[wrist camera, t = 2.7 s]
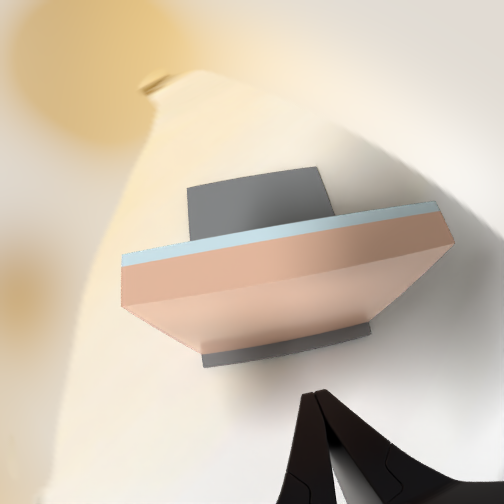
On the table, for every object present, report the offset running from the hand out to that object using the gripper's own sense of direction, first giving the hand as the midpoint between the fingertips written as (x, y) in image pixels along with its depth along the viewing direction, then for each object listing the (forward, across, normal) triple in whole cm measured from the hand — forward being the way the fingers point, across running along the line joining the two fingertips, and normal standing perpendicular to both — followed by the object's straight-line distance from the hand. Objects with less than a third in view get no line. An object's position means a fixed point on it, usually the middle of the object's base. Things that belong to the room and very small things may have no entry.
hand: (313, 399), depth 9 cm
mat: (+11, 0, -1) cm, 11 cm away
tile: (+8, 0, +2) cm, 8 cm away
